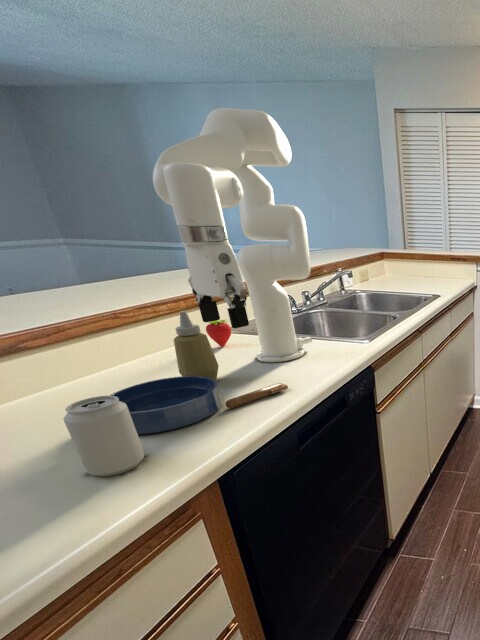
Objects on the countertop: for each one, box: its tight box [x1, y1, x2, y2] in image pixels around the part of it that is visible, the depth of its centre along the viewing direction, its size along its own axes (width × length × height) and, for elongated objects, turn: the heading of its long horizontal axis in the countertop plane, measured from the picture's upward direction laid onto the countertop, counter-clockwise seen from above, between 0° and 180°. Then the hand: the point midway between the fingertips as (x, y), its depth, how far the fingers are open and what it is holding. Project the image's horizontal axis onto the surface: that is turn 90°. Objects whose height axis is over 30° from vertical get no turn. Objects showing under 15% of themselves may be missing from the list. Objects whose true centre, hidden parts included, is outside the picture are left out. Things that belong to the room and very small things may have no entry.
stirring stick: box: [224, 382, 289, 409], centre depth 97 cm, size 14×3×2 cm, turn 150°
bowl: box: [108, 375, 223, 435], centre depth 88 cm, size 19×19×5 cm
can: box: [62, 395, 146, 477], centre depth 69 cm, size 8×8×12 cm
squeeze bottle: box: [173, 310, 220, 382], centre depth 102 cm, size 8×8×18 cm
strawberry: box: [205, 319, 232, 347], centre depth 131 cm, size 6×8×10 cm
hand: (226, 323), depth 87 cm, fingers open, 9 cm apart
